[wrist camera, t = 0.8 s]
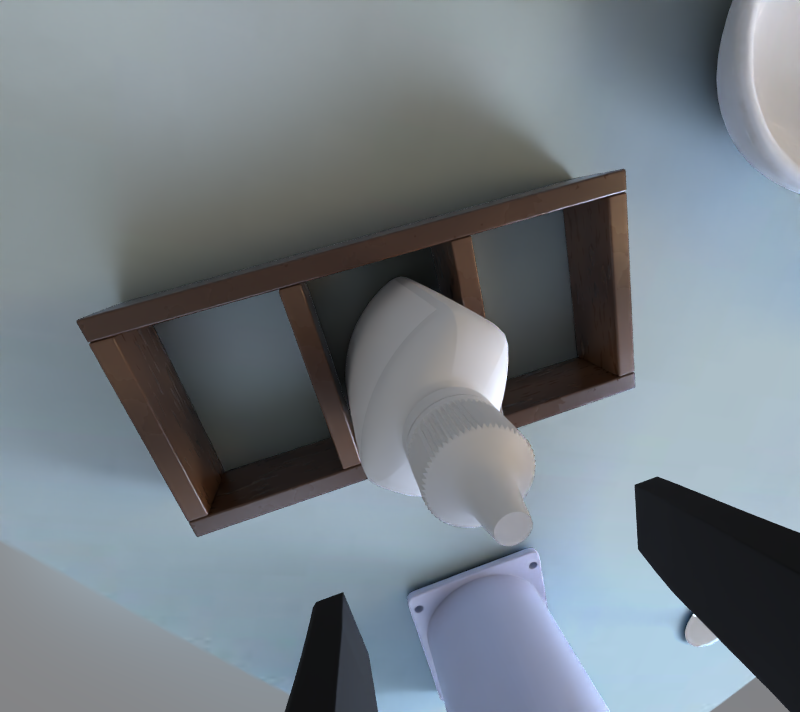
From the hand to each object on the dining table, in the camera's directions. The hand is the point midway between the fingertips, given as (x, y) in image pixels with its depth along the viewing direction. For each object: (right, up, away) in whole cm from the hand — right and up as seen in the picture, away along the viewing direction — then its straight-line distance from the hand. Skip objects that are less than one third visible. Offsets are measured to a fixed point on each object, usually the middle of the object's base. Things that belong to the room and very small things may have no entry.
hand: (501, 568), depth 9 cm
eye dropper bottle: (-3, +6, +9) cm, 11 cm away
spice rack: (-3, +6, +9) cm, 11 cm away
